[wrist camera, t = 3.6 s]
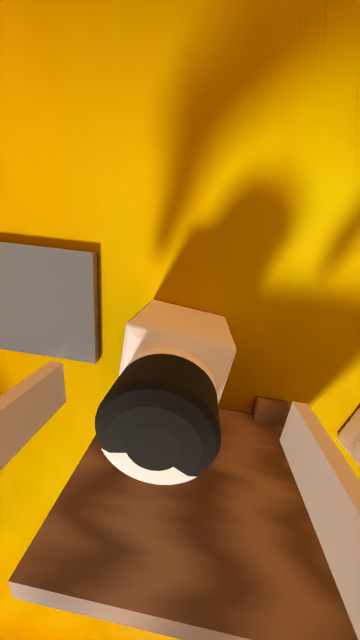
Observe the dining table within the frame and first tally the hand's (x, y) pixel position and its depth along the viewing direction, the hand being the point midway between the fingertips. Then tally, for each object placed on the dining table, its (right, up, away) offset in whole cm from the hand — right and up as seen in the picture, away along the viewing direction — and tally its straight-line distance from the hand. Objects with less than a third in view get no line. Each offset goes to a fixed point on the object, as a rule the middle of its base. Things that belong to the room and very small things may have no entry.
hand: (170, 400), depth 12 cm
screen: (+3, -5, +11) cm, 12 cm away
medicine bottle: (+1, +3, +9) cm, 9 cm away
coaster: (-13, +6, +9) cm, 17 cm away
